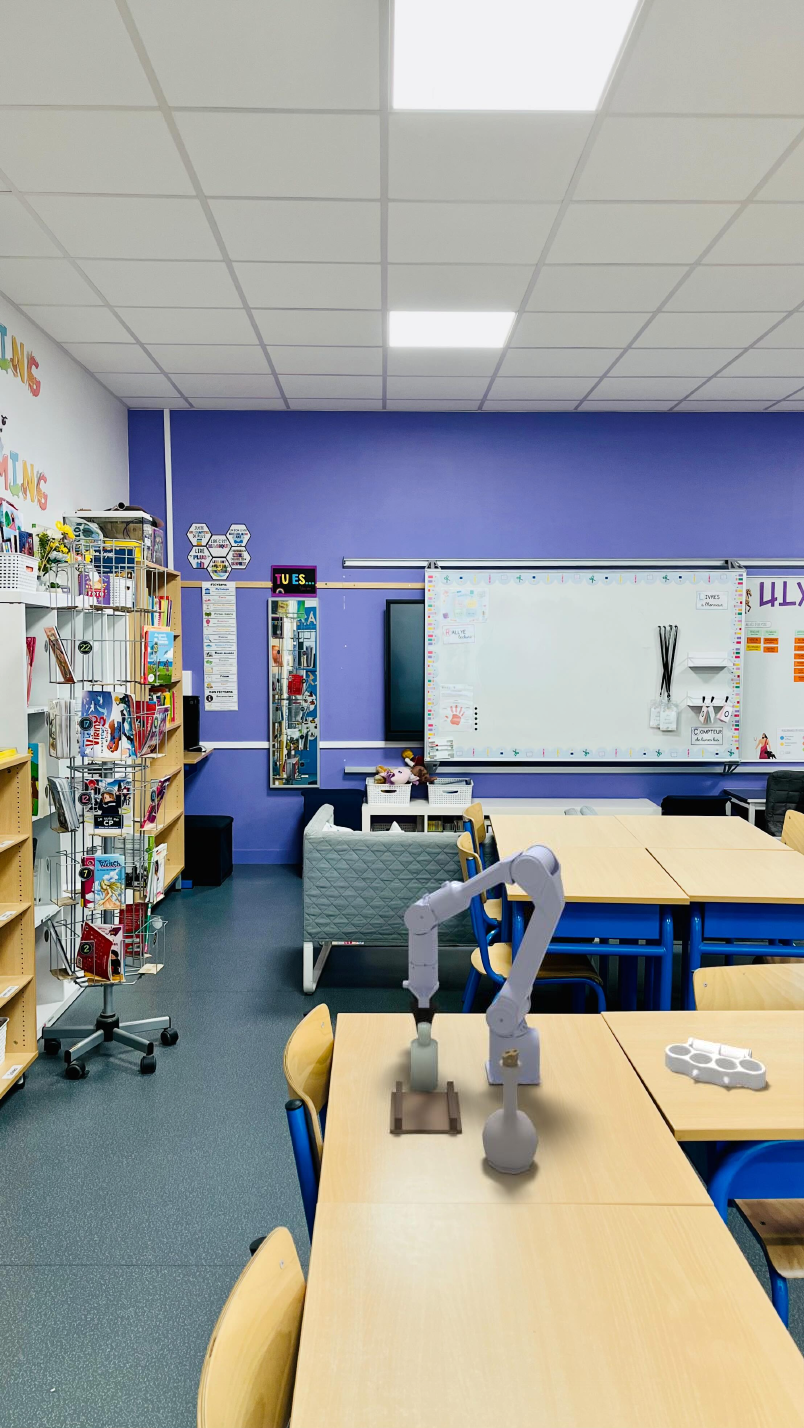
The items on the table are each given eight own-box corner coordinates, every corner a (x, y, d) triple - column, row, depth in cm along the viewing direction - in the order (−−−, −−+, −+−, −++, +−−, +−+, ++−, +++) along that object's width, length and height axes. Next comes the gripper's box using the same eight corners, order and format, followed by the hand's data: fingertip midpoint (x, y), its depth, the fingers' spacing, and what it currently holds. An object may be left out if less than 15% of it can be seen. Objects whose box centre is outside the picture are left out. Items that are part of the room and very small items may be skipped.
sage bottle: (437, 1078, 157) (437, 1019, 156) (438, 1092, 152) (438, 1031, 151) (410, 1078, 157) (410, 1019, 156) (410, 1092, 152) (410, 1031, 151)
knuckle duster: (769, 1066, 162) (762, 1101, 149) (673, 1045, 171) (659, 1078, 158) (769, 1049, 162) (763, 1083, 149) (673, 1029, 170) (659, 1060, 158)
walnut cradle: (457, 1095, 151) (457, 1081, 151) (462, 1133, 139) (462, 1118, 139) (391, 1095, 151) (391, 1081, 151) (390, 1133, 139) (390, 1118, 139)
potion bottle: (536, 1181, 126) (538, 1066, 125) (478, 1174, 128) (478, 1060, 127) (539, 1148, 135) (540, 1040, 133) (484, 1141, 136) (484, 1035, 135)
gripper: (403, 948, 171) (403, 1012, 172) (402, 975, 157) (402, 1045, 158) (437, 948, 171) (437, 1012, 172) (440, 975, 156) (440, 1045, 157)
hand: (423, 1028), depth 165 cm, fingers open, 7 cm apart
